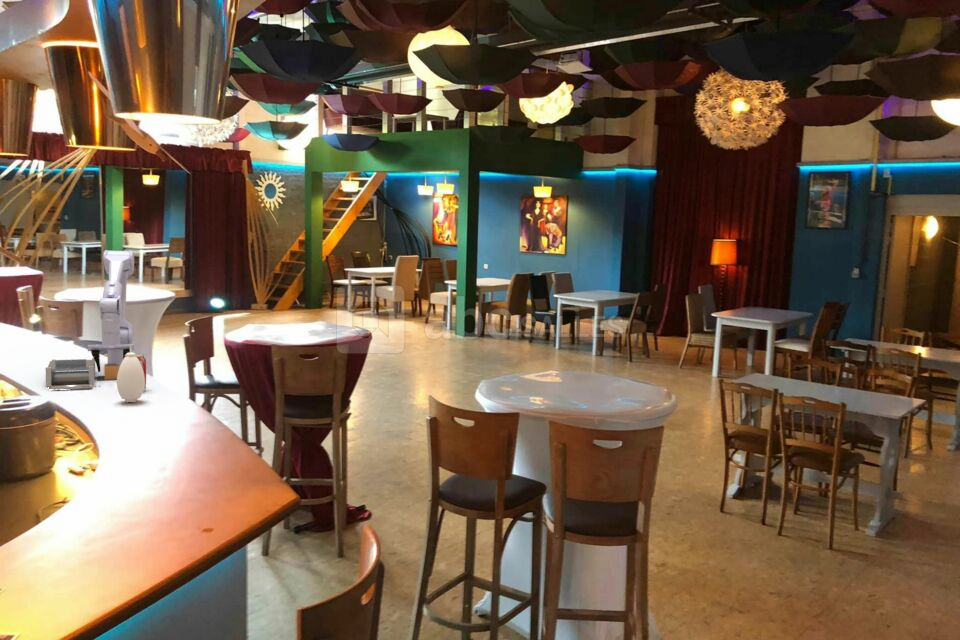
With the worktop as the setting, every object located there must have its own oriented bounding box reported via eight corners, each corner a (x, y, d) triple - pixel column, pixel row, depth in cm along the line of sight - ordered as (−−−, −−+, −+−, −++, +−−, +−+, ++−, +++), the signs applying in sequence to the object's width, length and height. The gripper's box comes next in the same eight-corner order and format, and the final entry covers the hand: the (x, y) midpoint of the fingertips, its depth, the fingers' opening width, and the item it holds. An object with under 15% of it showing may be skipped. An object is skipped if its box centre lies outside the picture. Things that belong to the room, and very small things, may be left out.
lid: (50, 363, 265) (50, 355, 265) (94, 361, 271) (94, 354, 271) (46, 371, 252) (46, 363, 252) (93, 369, 258) (93, 361, 257)
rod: (48, 391, 249) (48, 386, 249) (49, 390, 250) (48, 385, 250) (93, 389, 254) (93, 384, 254) (93, 388, 256) (93, 383, 256)
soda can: (150, 389, 258) (150, 353, 256) (139, 393, 251) (138, 357, 249) (130, 388, 259) (129, 352, 257) (118, 392, 252) (117, 355, 250)
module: (104, 376, 271) (104, 363, 271) (118, 376, 273) (118, 362, 272) (104, 379, 267) (104, 365, 267) (118, 378, 269) (118, 365, 268)
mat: (97, 377, 272) (97, 375, 272) (125, 376, 276) (125, 374, 276) (96, 382, 264) (96, 381, 264) (125, 381, 268) (125, 379, 268)
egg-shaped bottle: (142, 405, 237) (141, 346, 234) (114, 405, 235) (113, 346, 233) (147, 399, 244) (146, 342, 242) (120, 399, 243) (120, 342, 240)
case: (51, 375, 273) (51, 355, 272) (96, 373, 279) (95, 354, 278) (46, 389, 252) (45, 367, 251) (94, 387, 258) (94, 366, 257)
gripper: (87, 334, 262) (87, 374, 263) (134, 333, 268) (134, 372, 269) (87, 331, 268) (88, 370, 270) (133, 330, 274) (134, 368, 276)
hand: (111, 371), depth 270 cm, fingers open, 7 cm apart
